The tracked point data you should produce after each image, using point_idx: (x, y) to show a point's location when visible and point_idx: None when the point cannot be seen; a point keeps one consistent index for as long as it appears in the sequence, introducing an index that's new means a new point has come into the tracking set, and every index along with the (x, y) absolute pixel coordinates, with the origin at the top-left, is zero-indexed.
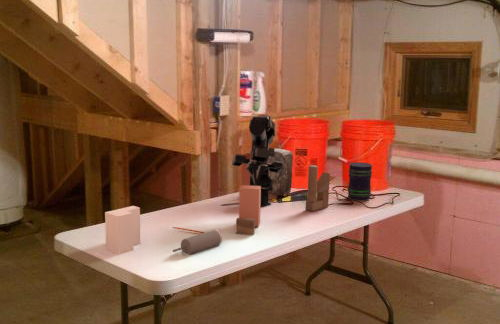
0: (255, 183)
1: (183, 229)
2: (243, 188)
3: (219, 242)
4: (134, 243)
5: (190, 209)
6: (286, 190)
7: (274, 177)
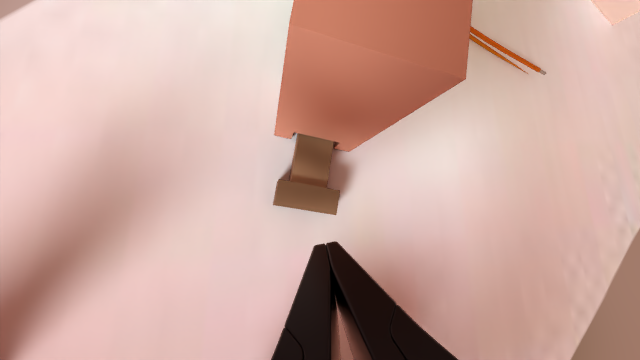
0: (335, 242)
1: (515, 54)
2: None
3: None
4: None
5: (530, 320)
6: None
7: None
